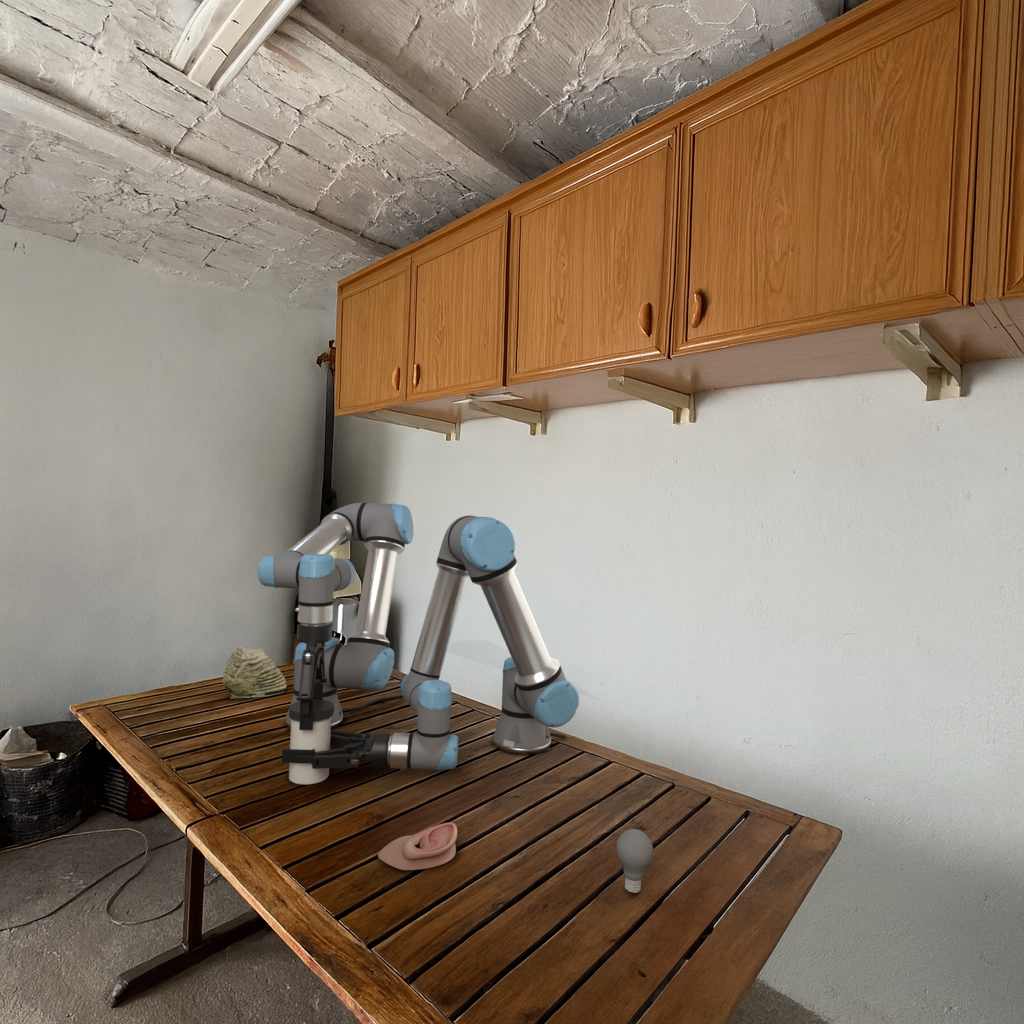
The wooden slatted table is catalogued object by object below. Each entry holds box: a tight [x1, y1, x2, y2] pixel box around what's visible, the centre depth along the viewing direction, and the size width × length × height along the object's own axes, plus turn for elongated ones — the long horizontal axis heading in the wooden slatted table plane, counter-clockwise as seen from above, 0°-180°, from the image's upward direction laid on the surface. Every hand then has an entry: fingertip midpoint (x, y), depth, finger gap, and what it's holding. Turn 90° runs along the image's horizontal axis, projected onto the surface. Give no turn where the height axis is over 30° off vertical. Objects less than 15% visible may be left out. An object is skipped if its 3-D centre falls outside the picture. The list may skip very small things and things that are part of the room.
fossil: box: [222, 646, 288, 699], centre depth 198 cm, size 9×18×15 cm, turn 132°
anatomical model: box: [377, 822, 458, 871], centre depth 114 cm, size 13×4×12 cm
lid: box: [288, 699, 334, 722], centre depth 143 cm, size 10×10×2 cm
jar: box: [288, 717, 332, 785], centre depth 143 cm, size 9×9×15 cm
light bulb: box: [615, 828, 654, 894], centre depth 106 cm, size 6×6×10 cm
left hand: (311, 720), depth 143 cm, fingers open, 11 cm apart
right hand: (289, 747), depth 143 cm, fingers closed on jar, 9 cm apart
